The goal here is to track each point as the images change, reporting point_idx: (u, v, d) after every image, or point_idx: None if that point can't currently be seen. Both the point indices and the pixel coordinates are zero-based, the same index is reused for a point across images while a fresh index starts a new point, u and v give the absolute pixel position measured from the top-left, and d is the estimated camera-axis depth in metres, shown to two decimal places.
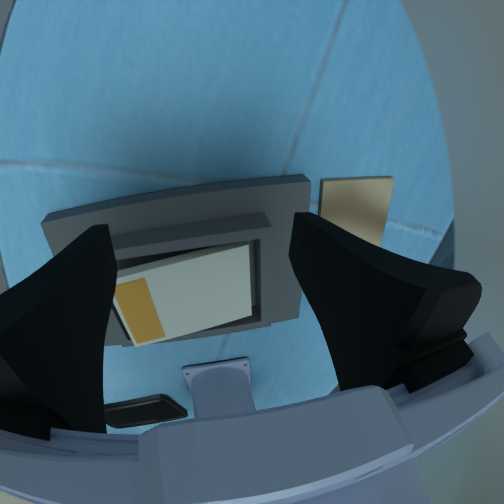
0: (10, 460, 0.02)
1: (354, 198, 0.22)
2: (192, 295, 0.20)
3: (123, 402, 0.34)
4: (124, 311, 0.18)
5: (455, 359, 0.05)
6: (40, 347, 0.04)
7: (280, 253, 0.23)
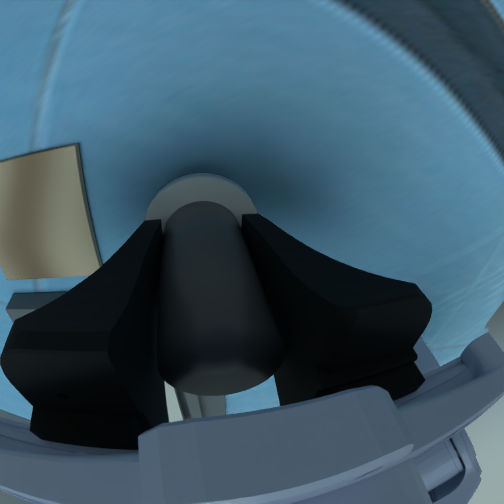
0: (10, 460, 0.02)
1: (8, 235, 0.11)
2: None
3: None
4: None
5: (397, 386, 0.05)
6: (133, 348, 0.05)
7: None
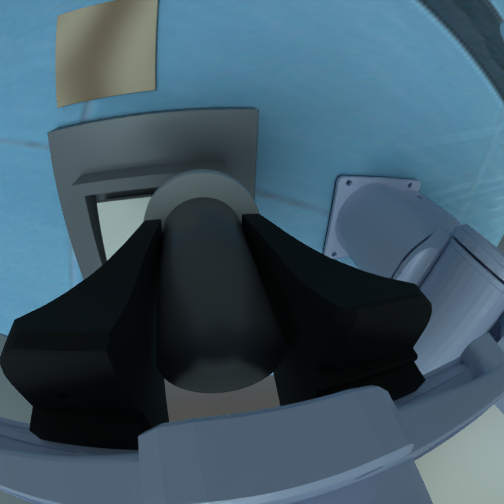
0: (10, 460, 0.02)
1: (77, 60, 0.13)
2: None
3: None
4: None
5: (397, 386, 0.05)
6: (133, 348, 0.05)
7: (130, 149, 0.16)
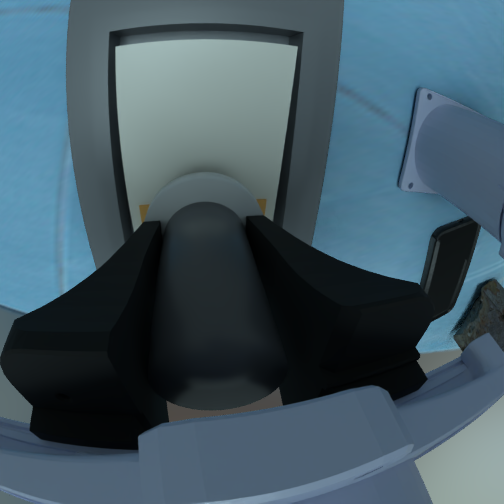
0: (10, 460, 0.02)
1: None
2: (194, 143, 0.11)
3: (421, 285, 0.27)
4: None
5: (400, 384, 0.05)
6: (133, 348, 0.05)
7: None
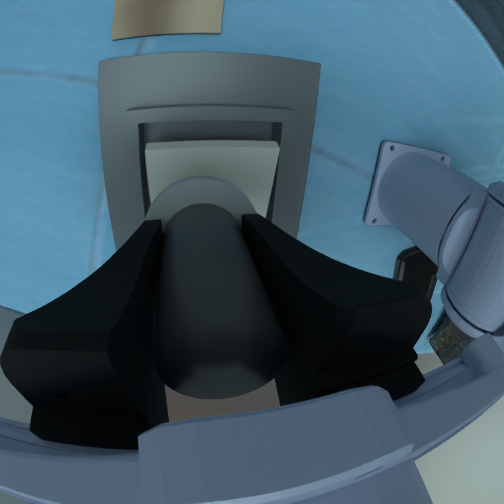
0: (10, 460, 0.02)
1: None
2: None
3: None
4: None
5: (397, 386, 0.05)
6: (133, 348, 0.05)
7: (191, 84, 0.15)
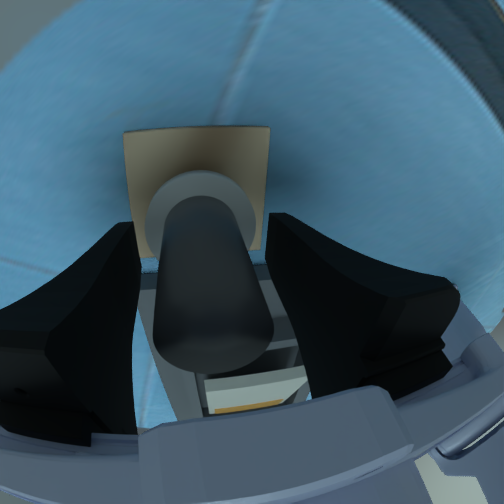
0: (10, 460, 0.02)
1: None
2: (248, 398, 0.20)
3: None
4: (239, 410, 0.24)
5: (430, 371, 0.05)
6: (82, 348, 0.04)
7: None
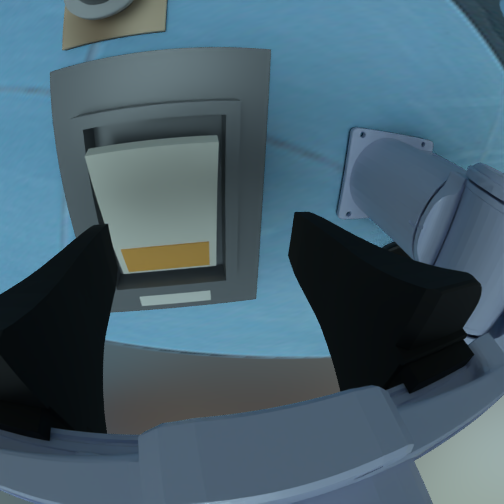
0: (10, 460, 0.02)
1: None
2: (152, 213, 0.16)
3: None
4: (158, 267, 0.20)
5: (455, 359, 0.05)
6: (40, 347, 0.04)
7: (135, 85, 0.14)
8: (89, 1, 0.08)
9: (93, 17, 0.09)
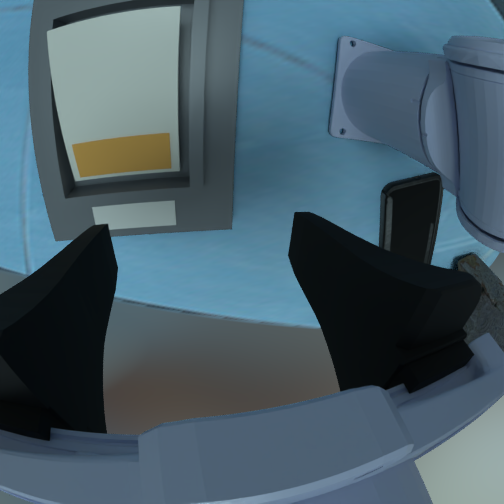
0: (10, 460, 0.02)
1: None
2: (105, 92, 0.12)
3: None
4: (112, 170, 0.15)
5: (455, 359, 0.05)
6: (40, 347, 0.04)
7: None
8: None
9: None
